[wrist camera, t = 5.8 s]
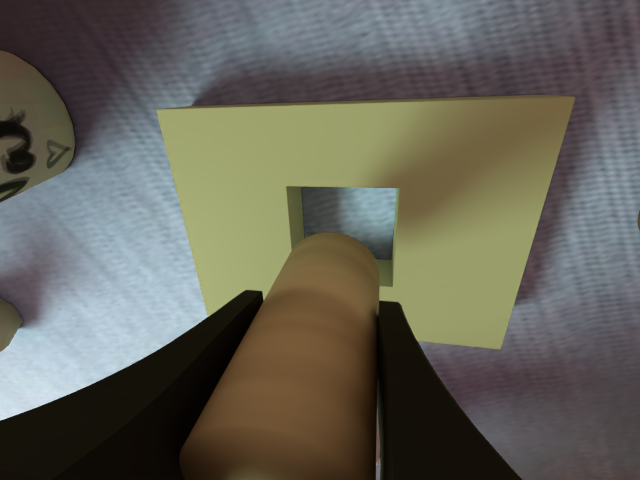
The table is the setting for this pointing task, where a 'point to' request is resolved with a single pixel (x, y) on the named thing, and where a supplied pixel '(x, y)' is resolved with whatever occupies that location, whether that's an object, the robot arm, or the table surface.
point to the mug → (30, 128)
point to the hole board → (375, 172)
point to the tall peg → (299, 376)
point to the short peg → (639, 220)
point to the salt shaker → (8, 323)
